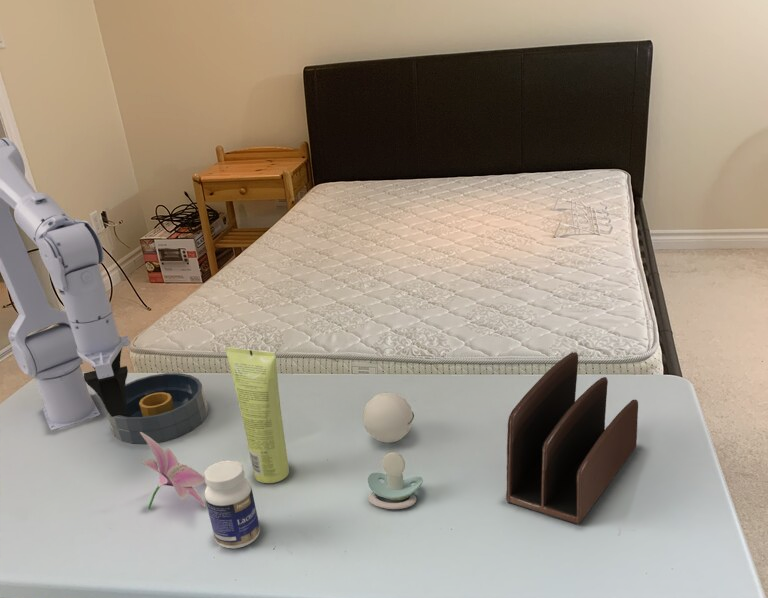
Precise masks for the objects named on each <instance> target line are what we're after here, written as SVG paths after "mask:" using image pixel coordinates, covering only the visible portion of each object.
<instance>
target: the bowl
mask: <svg viewBox="0 0 768 598" xmlns="http://www.w3.org/2000/svg"><path fill="white" fill-rule="evenodd" d="M159 392H165V393H169V394H170V395H171V396H172V400H173V404H174V408H175V409H173V410H171V411H168V412H165V413H161V414H158V415H153V416H146V417H143V415H142V412H141V408H140V405H139V402H140V400H141V399H142V398H144V397H145V396H147V395H150V394H153V393H159ZM125 397H126V414H122V415H118V416H114V417H111V415H110V414H109V412H108V411H107V409H106V407H105V406H104V409H105V412H106V415H107V418H108V419H107V420H108V421H109V425H110V428H111V431H112V434H113V436H114V437H115V438H116V439H117V440H120V441H121V442H123V443H128V444H132V445H148V443H147V442H146V440H145V439H144V438H143V436H142V435H141V434H140V432H142V433H144V434H146V435H147V436H149V437H150V438H151V439H153V440H154V441H155V442H156V443H158V444H159V443H164V442H166V441H170V440H173V439H176V438H179V437H181V436H184V435H185V434H187V433H190V432H192V431H193V430H195V429H196V428H197V427H199V426H200V425H201V424H202V423H203V422H204V421H205V419H206V418H207V417H208V410H209V407H208V403H207V399H206V394H205V390H204V387H203V384H202V382H201V381H200V379H199V378H197V377H195V376H193V375H191V374H186V373H181V372H165V373H158V374H152V375H148V376H144V377H141V378H137V379H135V380H132V381H130V382H128V383H127V382H126V383H125Z"/></svg>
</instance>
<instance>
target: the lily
mask: <svg viewBox="0 0 768 598" xmlns="http://www.w3.org/2000/svg"><path fill="white" fill-rule="evenodd" d="M140 434H141V435H142V436H143V438H144V439H145V440H146V442H147V443H148V444H147V445H148V447H149V448H150V449H151V452H152V454H153V456H154V458H155V459H154V458H146V459H144V460H143V461H142V462H141V463H142V465H144V466H146V467H148V468H149V469H151V470H153V471H155V472H156V473H158V478H159V483H158V485H157V487H156V488H155V490H154V491H153V494H152V496H151V499H150V501H149V504H148V507H147V509H148V510H151V508H152V505H153V502H154V499H155V496H156V495H157V493H158V491H159V490H160V488H161V487H162V486H167V487H172V488H173V487H174V490H175V492H176V494H177V495H178V497H179V498H180V499H181V500H185V499H186V498H187V497H188V495H190V496H191V497H192V498H194V499H195V500H196V501H197V502H198V503H200V504H201V505H202V506H203V507H204V508H207V504H205V503H206V502H205V501H204V499H203V498H202V496H201V495H200V493H199V492H198V491H197V489H196V488H195V487H197V486H200V485H202V484H206V483H205V477H204V475H202V474H201V473H200V472H198V471H197V470H195V469H194V468H192V467H191V466H188V465H187V464H180V462H179V460H178V459H177V457H176V455H175V454H174V452H173V451H172V450H171V449H169V448H166V449H165V450H164V449H163V447H162V446H161V445H160V444H159V442H158V443H156V442H155V441H154V440H153V439H151V438H150V437H149V436H147V435H146V434H144V433H142V432H140Z"/></svg>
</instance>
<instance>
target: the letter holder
mask: <svg viewBox="0 0 768 598" xmlns="http://www.w3.org/2000/svg"><path fill="white" fill-rule="evenodd" d="M578 369H579V353H578V352H577V351H574V352H570V353H569V354H567V355H566V356H564V357H563V358H561V359H560V360H558V362H556V363H554V365H553V366H552V367H551V368H549V369H548V370H547V371H546V372H545V373H544V374H543V375H542V376H541V378H539V379H538V380H537V382H535V384H534V385H532V387H531V388H530V389H529V390H528V391H527V392H526V393H525V394H524V396H523V397H522V398H521V399H520V400H519V401H518V402H517V404H516V405H515V406H514V408H513V409H512V410H511V411H510V413H509V416H508V419H507V431H506V432H507V433H506V434H507V435H506V437H507V439H506V495H505V499H506V503H507V504H513V505H516V506H519V507H521V508H525V509H528V510H532V511H535V512H538V513H540V514H544V515H547V516H550V517H554V518H557V519H560V520H563V521H566V522H570V523H572V524H575V525H580V524H581V523H582V521H583V520H584V519H585V517H586V515H588V513H589V512H590V510H591V509H592V508H593V506H594V505H595V503H596V502H597V501H598V499H599V498H600V497H601V496H602V494H603V493H604V491H605V490H606V489H607V488H608V486H609V485H610V483H611V482H612V480H614V478H615V476H616V475H617V474H618V472H619V471H620V469H622V467H623V465H624V464H625V463H626V461H627V460H628V459H629V457H630V456H631V454H632V453H633V452H634V450H635V449H636V447H637V443H638V442H637V440H638V419H639V416H638V415H639V414H638V413H639V401H638V399H632V400H630V401H629V403H628V404H626V405H625V406H624V407H623V408H622V409H621V410H620V411H619V412H618V414H616V415H615V417H614V418H613V419H612V420H611V422H610V423H609V424H608V425H607V426H606V411H607V397H608V384H609V381H608V377H607V376H603V377H601V378H599V379H598V380H596V381H595V382H594V383H593V384H591V385H590V386H589V387H588V388H587V389H586V390H585V391H584V392H583V393H582V394H581V395H580V396H579V397H578V398H577V399H576V394H577V381H578Z"/></svg>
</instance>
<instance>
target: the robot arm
mask: <svg viewBox="0 0 768 598" xmlns="http://www.w3.org/2000/svg"><path fill="white" fill-rule="evenodd" d="M25 167H26V166H25V163H24V160H23V157H22V154H21V152H20V150H19V148H18V147H17V145H16V144H15V143H14V142H13V141H12V140H11V139H10V138H8V137H1V138H0V275H1V276H2V279H3V282H4V283H5V286H6V288H7V290H8V293H9V295H10V298H11V300H12V302H13V305H14V306H15V309H16V311H17V314H18V316H17V318H16V319H15V321H14V322H13V324H12V325H11V327H10V328H9V330H8V333H7V334H8V337H7V338H8V340H9V342H10V345H11V350H12V354H13V357H14V359H15V362H16V363H17V365H18V367H19V369H20V370H21V372H22V373H23V374H24V375H26V376H28V377H30V378H33V377H34V380H35V383H36V386H37V389H38V392H39V394H40V397H41V400H42V403H43V406H44V407H42V412H43V414H44V416H45V420H46V421H47V425H48V427H49V429H50V431H55V430H59V429H62V428H65V427H68V426H71V425H74V424H78V423H81V422H85V421H87V420H91V419H94V418H97V417H100V416H101V413H100V411H99V409H98V408H97V405H96V404H95V402H94V399H93V398H92V395H91V394H90V392H89V388H88V386H89V387H90V388H91V389H92V391H94V392H95V394H96V395H97V396H98V397H99V399H100V400H101V402H102V405H104V408H105V407H106V409H107V411H108V412H109V414H110V415H111V417H114V416H118V415H122V414H126V397H125V384H126V383H127V377H128V374H129V373H128V371H129V370H128V366H127V365H124V366H121V358H122V351H123V348H124V347H127V346H130V345H131V341H130V337H129V335H128V336H127V335H125V336H120V333H119V330H118V327H117V323H116V319H115V315H114V312H113V309H112V306H111V302H110V298H109V294H108V291H107V288H106V284H105V281H104V277H103V273H102V271H101V267H100V265H101V264H103V262H104V259H105V257H104V255H105V254H104V248H103V245H102V242H101V239H100V237H99V235H98V233H97V231H96V229H94V227H93V226H92V225H91V224H90V222H89V221H88V220H84V219H83V220H80V219H79V218H75V219H73V218H72V217H71V216H70V215H69V214H68V213H67V212H66V211H65V209H63V208H62V207H61V206H60V205H59V203H58V202H56V200H55V199H54V198H53V197H52V196H51V195H49V194H47V193H44V192H37V191H36V189H35V188H34V187H33V186H32V184H31V183H30V181H29V180H28V179H27V178H26V168H25ZM10 207H11V208H12V209H13V210H14V211H13V215H12V212H11V210H10ZM13 216H14V217H13ZM17 226H18V227H19V228H20V229H21V230H22V231H23V232H24V233H25V234H26V236H27V237H28V238H29V239H30V240H31V241H32V242H33V243H34V244H35V246H36V247H37V248H38V252H39V255H40V258H41V260H42V263H43V265H44V266H45V268H46V270H47V271H48V274H49V276H50V279H51V282H52V283H53V286H54V287H55V289H58V292H59V295H60V297H61V301H62V304H63V308H64V310H65V311H64V310H61V309H57V308H54V307H52V306H51V305H50V303H49V300H48V298H47V295H46V292H45V291H44V289H43V286H42V284H41V281H40V279H39V276H38V274H37V271H36V269H35V267H34V265H33V262H32V260H31V257H30V255H29V252H28V250H27V248H26V246H25V244H24V241H23V238H22V236H21V234H20V232H19V229H18V227H17ZM55 325H56V326H55ZM51 326H52V327H51ZM48 327H50V328H48ZM45 328H47V329H45ZM42 329H44V330H42ZM40 330H42V331H40ZM37 331H38V332H37ZM31 333H33V334H31ZM83 361H84V362H86V363H88V364H89V365H90V366H91V367H92V368H93V370H92V371H88V372H83V369H82V366H81V365H84V362H83ZM106 409H105V410H106Z"/></svg>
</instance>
